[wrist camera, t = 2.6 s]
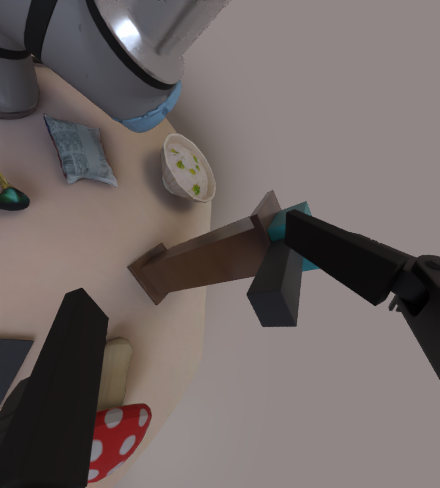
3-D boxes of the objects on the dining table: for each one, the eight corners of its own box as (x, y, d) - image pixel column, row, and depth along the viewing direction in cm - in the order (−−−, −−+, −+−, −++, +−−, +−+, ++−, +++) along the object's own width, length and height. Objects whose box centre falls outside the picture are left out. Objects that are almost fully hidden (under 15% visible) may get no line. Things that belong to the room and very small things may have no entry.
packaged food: (95, 137, 37) (104, 122, 35) (113, 191, 38) (124, 180, 35) (38, 121, 30) (45, 101, 27) (61, 188, 30) (70, 174, 28)
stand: (160, 241, 44) (273, 189, 28) (183, 276, 47) (298, 248, 31) (123, 266, 35) (257, 213, 19) (155, 308, 38) (294, 292, 22)
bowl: (202, 194, 64) (224, 182, 58) (180, 227, 50) (206, 214, 45) (165, 143, 55) (187, 122, 50) (125, 166, 42) (150, 141, 36)
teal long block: (277, 211, 27) (306, 200, 24) (292, 246, 28) (320, 239, 26) (237, 276, 12) (296, 265, 10) (270, 342, 14) (329, 344, 11)
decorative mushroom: (139, 317, 26) (124, 480, 16) (162, 339, 34) (162, 456, 24) (60, 336, 25) (-9, 522, 15) (103, 354, 34) (77, 482, 23)
